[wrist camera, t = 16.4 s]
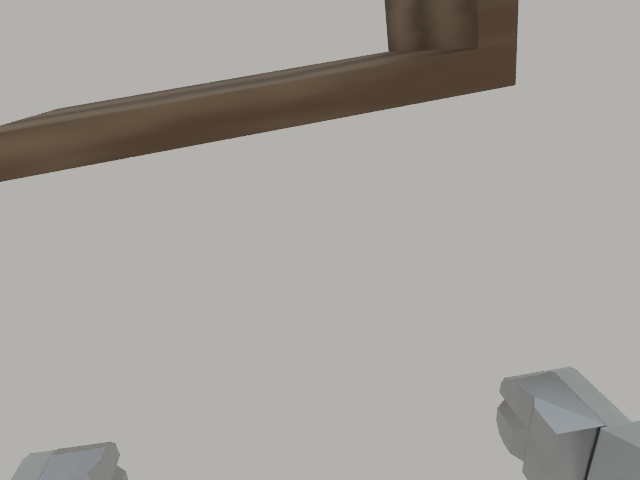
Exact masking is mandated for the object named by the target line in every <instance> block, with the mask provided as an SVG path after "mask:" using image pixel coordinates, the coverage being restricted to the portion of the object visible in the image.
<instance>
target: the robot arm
mask: <svg viewBox="0 0 640 480" xmlns="http://www.w3.org/2000/svg"><path fill="white" fill-rule="evenodd" d="M500 393H501V395H502V396H503V397H504V399H505V400H504V401H503V402H502V403H501V404H500V406H499V407H498V409H497V425H498V429H499V433H500V436H501V438H502V440H503V442H504V444H505V446H506V447H507V449H508V450H509V452H510V453H511V454H513V455H514V456H516V457H517V458H519V459H521V460H522V461H523V473H524V475H525V476H526V478H527V479H528V480H640V421H636V422H631V421H630V420H629V419H628V418H627V417H626V416H625V415H624V414H623V413H622V412H621V411H620V410H619V409H618V408H617V407H616V406H614V405H613V404H612V403H611V402H610V401H609V400H608V399H607V398H606V397H605V396H604V395H603V394H602V393H601V392H599V390H597V388H595V387H594V386H593V385H592V384H591V383H590V382H589V381H588V380H587V379H586V378H585V377H584V376H583V375H582V374H581V373H579V372H578V370H576V369H574V368H572V367H565V368H559V369H554V370H548V371H542V372H536V373H531V374H524V375H519V376H513V377H507V378H504V379H503V381H502V382H501V387H500ZM119 456H120V454H119V452H118V449H117V447H116V444H115V443H112V442H107V443H99V444H92V445H85V446H78V447H70V448H63V449H57V450H52V451H44V452H37V453H30V454H29V455H28V456H27V457H26V458H24V459H23V460H22V462H21V463H20V465H19V467H18V469H17V470H16V472H15V474H14V476H13V477H12V479H11V480H128V478H127V474H126V471H125V470H123V469H121V468H120V467H118V466H117V462H118V459H119Z"/></svg>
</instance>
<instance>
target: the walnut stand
mask: <svg viewBox="0 0 640 480" xmlns="http://www.w3.org/2000/svg"><path fill="white" fill-rule="evenodd" d="M385 10H386V23H387V35H388V49H389V52H384V53H379V54H373V55H366V56H361V57H355V58H349V59H343V60H338V61H332V62H326V63H321V64H314V65H309V66H303V67H297V68H292V69H286V70H280V71H274V72H269V73H262V74H257V75H251V76H245V77H240V78H234V79H228V80H222V81H216V82H210V83H205V84H199V85H193V86H187V87H181V88H176V89H171V90H164V91H158V92H153V93H147V94H141V95H135V96H130V97H124V98H118V99H112V100H106V101H100V102H95V103H89V104H83V105H78V106H72V107H66V108H61V109H56V110H52V111H49V112H45V113H42V114H39V115H36V116H32V117H28V118H25V119H22V120H18V121H15V122H11V123H8V124H5V125H1V126H0V182H1V181H7V180H12V179H18V178H23V177H28V176H33V175H39V174H44V173H49V172H55V171H60V170H65V169H70V168H76V167H81V166H87V165H92V164H97V163H103V162H108V161H113V160H119V159H124V158H129V157H135V156H140V155H145V154H151V153H156V152H161V151H167V150H172V149H177V148H183V147H187V146H193V145H198V144H204V143H209V142H214V141H220V140H225V139H230V138H236V137H240V136H246V135H252V134H257V133H262V132H268V131H273V130H278V129H283V128H289V127H294V126H300V125H305V124H310V123H316V122H321V121H326V120H331V119H337V118H342V117H348V116H352V115H358V114H363V113H369V112H374V111H379V110H385V109H390V108H395V107H401V106H406V105H411V104H417V103H422V102H427V101H432V100H438V99H443V98H449V97H453V96H459V95H465V94H470V93H475V92H480V91H486V90H491V89H496V88H502V87H507V86H513V85H515V81H516V80H515V79H516V52H517V24H518V0H385Z"/></svg>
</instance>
